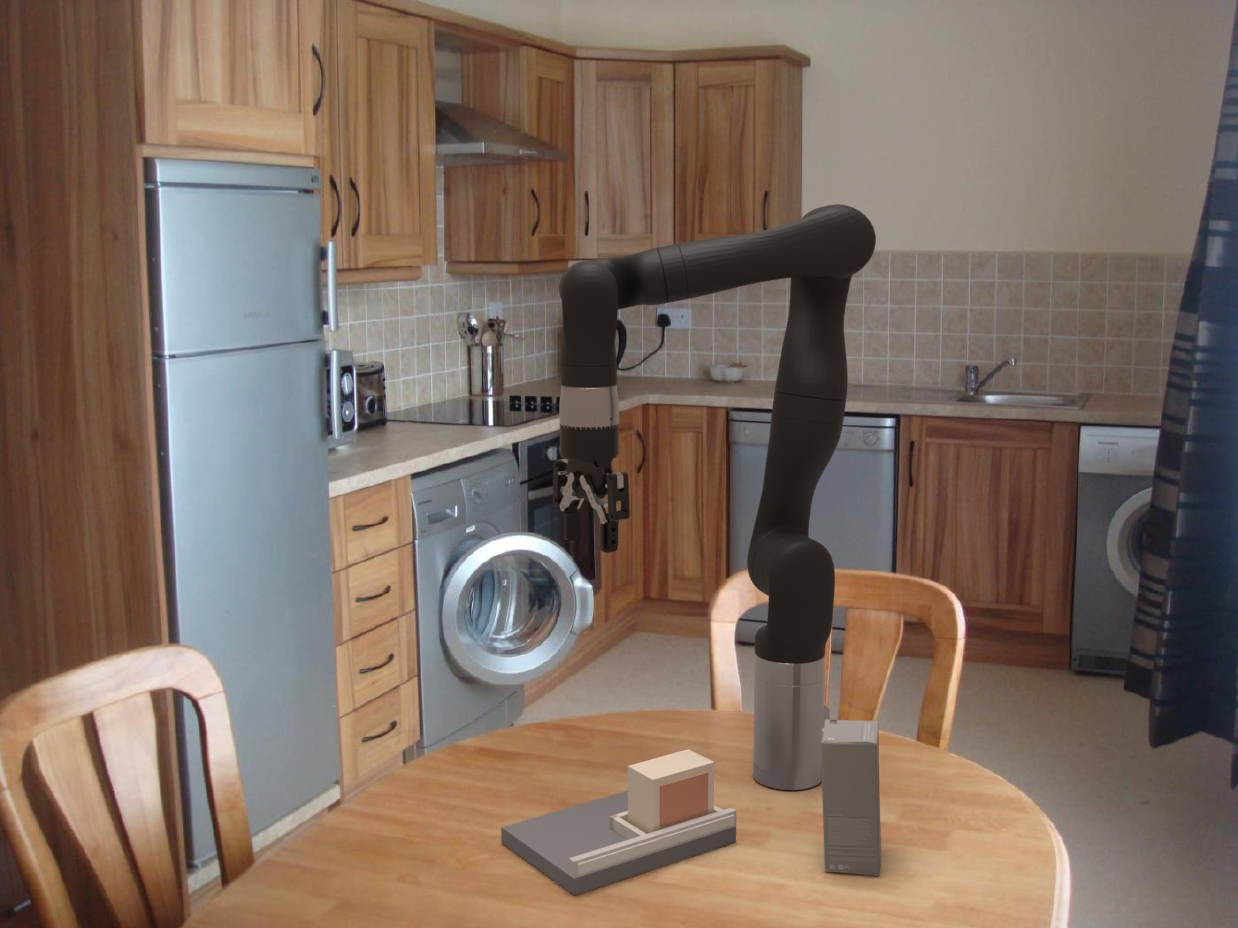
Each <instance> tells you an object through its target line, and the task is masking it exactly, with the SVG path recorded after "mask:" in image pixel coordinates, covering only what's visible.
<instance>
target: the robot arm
mask: <svg viewBox="0 0 1238 928" xmlns="http://www.w3.org/2000/svg"><path fill="white" fill-rule="evenodd" d="M876 235H877V234H876V231H875V229H874V226H873V224H872V222H871V221H870V219H869V218H868V216H867V215H865V214H864V213H863V212H862V211H860V210H858V209H856V208H855V207H853V206H849V205H847V204H829V205H828V204H827V205H825V206H820V207H816V208H814V209H812V210H810V211H809V212H807V213H806V214H805V215H804V216H802V217H801V218H800V219H798V220H795V221H792V222H789V223H786V224H783V225H780V226H776V227H773V228H772V227H771V228H768V229H764V230H763V229H762V230H759V231H754V232H749V233H743V234H737V235H727V236H719V237H712V238H705V239H697V240H690V241H684V242H679V243H673V244H669V245H663V246H658V247H653V248H648V249H646V250H643V251H640V252H637V253H633V254H625V255H616V256H609V257H602V258H595V259H589V260H588V259H587V260H582V261H578V262H576V263H574V264H572V265H570V266H569V267H568V268H567V269H566V270H565V271H564V273H563V274H562V276H561V278H560V282H559V286H558V292H559V297H560V299H561V308H562V309H561V311H562V331H563V332H562V333H563V334H562V335H563V344H562V346H561V354H560V355H561V356H560V357H561V358H560V381H561V382H560V384H561V386H560V396H559V406H558V408H559V454H560V457H561V458H560V459H554V460H553V463H552V499H551V500H552V503H553V505H558V506H559V508H560V511H561V512H562V513H563V514H562V515H563V519H562V520H563V521H562V523H563V539H564V540H567V541H569V542H570V541H576V540H579V539H581V535H582V531H581V529H582V527H581V526H582V525H581V522H582V521H581V520H582V517H581V515H582V514H581V510H580V508H581V506H582V504H583V502H584V501H587V502H589V504H590V506H591V508H592V509H594V510H596V513H597V515H598V518H599V520H600V523H599V530H600V531H599V532H600V533H599V534H600V535H599V538H600V539H599V540H600V541H599V543H600V544H599V545H600V546H599V548H600V551H601V552H602V553H605V554H607V553H614V552H617V550H618V548H619V524H620V522H621V521H624V520H628V519H629V518H630V516H631V515H630V512H631V511H630V489H629V488H630V487H629V486H630V485H629V474H628V472H627V471H619V472H614V470H613V467H612V466H613V465H612V463H613V462H612V461H613V460H614V459H616V458H618V456H619V454H620V403H619V402H620V401H619V395H618V388H617V387H618V386H617V384H618V383H617V379H618V378H617V377H618V374H617V366H618V365H617V362H618V361H617V350H616V349H617V348H616V336H617V326H618V313H619V312H618V311H619V310H623V309H628V308H632V307H636V306H656V305H664V304H669V303H670V304H671V303H675V302H679V301H685V300H690V299H696V298H700V297H704V296H708V295H711V294H716V293H720V292H725V291H728V290H732V289H735V288H740V287H745V286H748V285H754V284H759V283H764V282H769V281H770V282H771V281H776V280H782V279H783V280H784V279H790V286H789V287H790V289H789V290H790V292H789V306H788V316H787V322H786V327H785V331H784V337H783V342H782V346H781V351H780V356H779V364H778V369H777V375H776V381H775V385H774V394H773V401H772V409H771V418H770V427H769V428H770V430H769V438H768V443H767V452H766V458H765V465H764V475H763V484H762V489H761V490H762V491H761V495H760V501H759V504H758V508H757V511H756V513H757V514H756V517H755V520H754V525H753V530H752V533H751V538H750V542H749V547H748V550H747V551H748V552H747V556H746V557H747V558H746V559H747V560H746V561H747V562H746V565H747V573H748V576H749V580H750V581H751V582H752V584H753V585H754V587H755V588H756V589H757V590H758V591H759V592H761V593H763V594H764V595H766V596H768V603H767V608H768V609H767V620H766V621H767V622H766V625H763V626H762V627H760V628H759V629H758V630H757V631H756V633H755V636H754V665H753V666H754V668H753V669H754V670H753V671H754V673H753V675H754V681H753V682H754V683H753V684H754V685H753V688H754V689H753V748H752V749H753V760H752V762H753V763H752V764H753V765H752V766H753V767H752V769H753V770H752V777H753V779H754V780H755V781H756V782H757V783H759V784H761V785H763V786H764V787H768V788H772V789H776V790H784V791H799V790H801V791H802V790H806V789H810V788H813V787H815V786H818V785H820V784H821V783H822V760H821V741H822V735H823V732H822V728H824V724H825V720H831V719H830V717H831V715H830V713H831V712H830V708H829V707H828V706H827V705H825V693H826V692H825V687H826V686H825V685H826V683H825V682H826V646H827V642H828V640H829V638H830V635H831V633H832V630H833V629H832V627H833V620H834V619H833V618H834V604H835V603H834V602H835V587H836V576H835V575H836V574H835V572H836V571H835V564H834V561H833V558H832V557H833V556H832V555H831V553H830V552H829V550H828V549H827V547H825V546H824V545H823V544H822V543H821V542H819V541H817V540H815V539H813V538H810V537H809V535H810V534H809V532H810V531H809V530H810V528H809V527H810V519H811V518H810V517H811V511H812V505H813V504H812V503H813V498H814V494H815V491H816V488H817V485H818V483H819V481H820V479H821V477H822V475H823V473H824V472H825V470H826V468H827V466H828V464H829V463H830V461H831V459H832V457H833V455H834V453H835V451H836V449H837V447H838V445H839V442H840V438H841V435H842V431H843V425H844V419H845V418H844V417H845V411H846V405H847V399H848V398H847V397H848V379H849V378H848V377H849V376H848V361H847V348H846V340H845V312H846V307H847V301H848V295H849V290H850V286H851V283H852V282H851V281H852V277H853V275H855V274H857V273H858V272H860V271H861V270H862V269H864V268H865V266H866V265H867V264H868V263H869V261H870V260H871V258H872V256H873V254H874V251H875V249H876V242H877V236H876ZM562 487H563V491H562V493H561V488H562ZM606 496H607V497H606ZM618 502H620V509H619V506H618ZM606 508H607V510H606Z"/></svg>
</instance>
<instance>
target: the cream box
mask: <svg viewBox="0 0 1238 928" xmlns="http://www.w3.org/2000/svg"><path fill="white" fill-rule="evenodd" d="M627 791H628V823H630V824H631V825H633V826H635V827H636V828H638V829H639V830H641V831H643V832H644V833H646V834H648V833H651V832H655V831H658V830H661V829H664V828H667V827H671V826H674V825H677V824H680V823H683V822H687V821H690V820H693V819H696V818H699V817H703V816H706V815H709V814H712V813H714V805H715V762H714V761H713V760H711V759H709V758H707V757H706V756H705V757H704V756H703V755H700V754H699V753H697V752H695V751H693V750H691V749H689V748H688V749H685V750H680V751H677V752H673V753H670V754H666V755H662V756H659V757H655V758H652V759H647V760H645V761H641V762H638V763H634V764H629V765H628V766H627Z"/></svg>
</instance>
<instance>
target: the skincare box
mask: <svg viewBox="0 0 1238 928" xmlns="http://www.w3.org/2000/svg"><path fill="white" fill-rule="evenodd" d="M879 726H880V725H879V721H878V720H855V719H854V720H852V719H851V720H849V719H847V720H846V719H829V720H825V724H824V728H822V732H823V735H822V741H821V760H822V781H821V792H822V826H823V827H822V828H823V852H824V870H825V872H829V873H830V872H831V873H845V874H859V875H868V876H877V877H879V876H880V875H881V867H882V836H881V835H882V834H881V833H882V831H881V829H882V827H881V805H880V804H881V802H880V801H881V799H880V798H881V797H880V751H879V750H880V748H879V747H880V743H879V742H880V739H879V738H880V736H879V735H880V734H879V733H880V732H879V731H880V730H879Z"/></svg>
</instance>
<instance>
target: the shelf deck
mask: <svg viewBox="0 0 1238 928" xmlns="http://www.w3.org/2000/svg"><path fill="white" fill-rule="evenodd" d="M500 831H501V833H500V834H501V839H500V840H501V844H502V845H504V846H505V847H506V848H508V849H509V850H511V851H512V852H513V853H515V854H516V855H517V856H519V857H520V858H522V859H523V860H524V861H526V862H527V863H529V864H530V865H532V866H533V867H534V868H536V870H538V871H539V872H541V873H542V874H544V875H545V876H547V877H548V878H549V879H551V880H552V881H553V882H554V883H556V884H557V885H559V886H560V887H562V888H563V889H564V890H566V891H567V892H568V893H570V894H571V895H572V896H574V897H575V896H577V895H580V894H584V893H586V892H590V891H592V890H596V889H598V888H602V887H604V886H605V887H606V886H608V885H611V884H613V883H616V882H620V881H622V880H623V881H624V880H625V879H629V878H632V877H635V876H638V875H641V874H644V873H647V872H651V871H654V870H656V869H659V868H662V867H665V866H668V865H671V864H674V863H677V862H680V861H683V860H685V859H689V858H692V857H695V856H699V855H701V854H704V853H707V852H710V851H714V850H716V849H719V848H722V847H725V846H728V845H732V844H734V843H737V810H736V809H734V808H733V807H729V808H726V809H722V808H721V807H719V806H716V805H715V804H714V813H712V814H709V815H706V816H703V817H699V818H696V819H693V820H690V821H687V822H683V823H680V824H677V825H674V826H671V827H667V828H664V829H661V830H658V831H655V832H651V833H648V834H646V833H644V832H643V831H641V830H639V829H638V828H636V827H635V826H633V825H631V824H630V823H628V790H626V791H622V792H619V793H615V794H611V795H608V796H604V797H601V798H598V799H595V800H591V801H588V802H584V803H580V804H577V805H576V804H575V805H574V806H570V807H569V806H568V807H566V808H563V809H558V810H555V811H553V812H549V813H546V814H543V815H539V816H535V817H532V818H529V819H525V820H521V821H518V822H515V823H510V824H508V825H505V826H501V829H500Z"/></svg>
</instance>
